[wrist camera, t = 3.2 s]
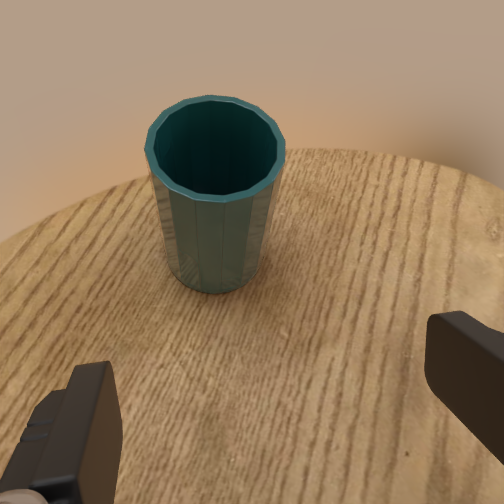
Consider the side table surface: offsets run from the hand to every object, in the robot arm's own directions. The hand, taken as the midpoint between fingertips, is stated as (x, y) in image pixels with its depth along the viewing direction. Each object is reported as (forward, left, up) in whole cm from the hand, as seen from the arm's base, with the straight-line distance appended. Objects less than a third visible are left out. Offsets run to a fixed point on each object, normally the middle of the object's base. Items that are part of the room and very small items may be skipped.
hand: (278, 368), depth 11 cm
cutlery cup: (+2, +11, -14) cm, 18 cm away
